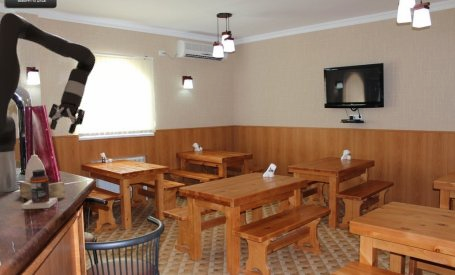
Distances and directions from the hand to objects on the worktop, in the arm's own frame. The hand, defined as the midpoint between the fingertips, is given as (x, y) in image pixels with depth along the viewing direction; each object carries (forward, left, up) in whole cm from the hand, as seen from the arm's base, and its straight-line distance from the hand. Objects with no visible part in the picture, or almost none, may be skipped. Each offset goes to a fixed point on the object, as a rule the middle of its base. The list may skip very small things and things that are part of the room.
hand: (61, 131), depth 153 cm
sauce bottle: (-14, +9, -26) cm, 31 cm away
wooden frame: (-7, -4, -26) cm, 27 cm away
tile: (-3, -18, -26) cm, 31 cm away
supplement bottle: (-3, -17, -24) cm, 30 cm away
